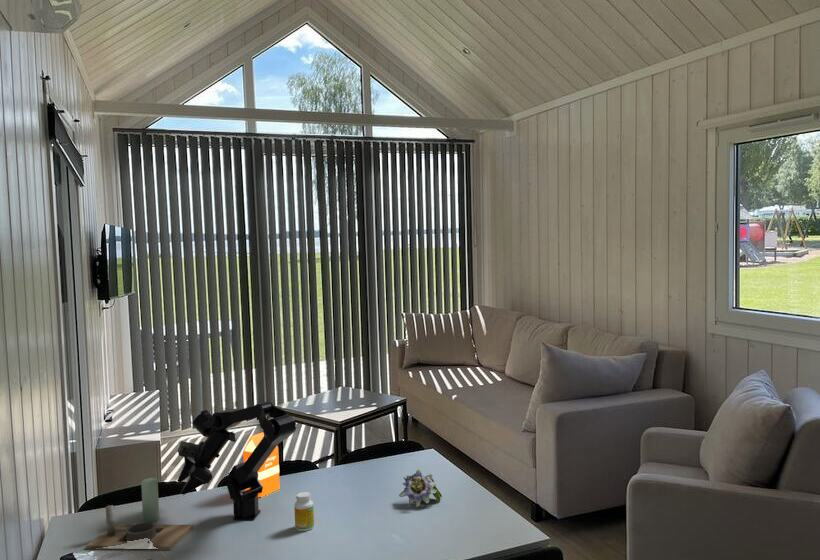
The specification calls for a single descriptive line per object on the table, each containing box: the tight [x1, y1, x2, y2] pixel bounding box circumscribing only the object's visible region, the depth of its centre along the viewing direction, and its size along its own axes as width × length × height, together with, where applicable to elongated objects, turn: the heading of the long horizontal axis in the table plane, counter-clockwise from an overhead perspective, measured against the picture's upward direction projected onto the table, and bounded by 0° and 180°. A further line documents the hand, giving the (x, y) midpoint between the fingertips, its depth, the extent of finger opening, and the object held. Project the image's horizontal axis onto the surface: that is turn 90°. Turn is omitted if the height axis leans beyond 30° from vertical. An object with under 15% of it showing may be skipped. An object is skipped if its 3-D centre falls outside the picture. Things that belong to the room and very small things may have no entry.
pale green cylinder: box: [140, 477, 160, 523], centre depth 191 cm, size 5×5×12 cm
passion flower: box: [399, 469, 442, 508], centre depth 199 cm, size 11×11×12 cm
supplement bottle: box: [293, 491, 315, 532], centre depth 182 cm, size 5×5×10 cm
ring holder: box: [85, 504, 194, 551], centre depth 178 cm, size 24×14×9 cm, turn 85°
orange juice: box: [242, 431, 281, 498], centre depth 212 cm, size 8×9×20 cm
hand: (180, 487), depth 194 cm, fingers open, 9 cm apart
